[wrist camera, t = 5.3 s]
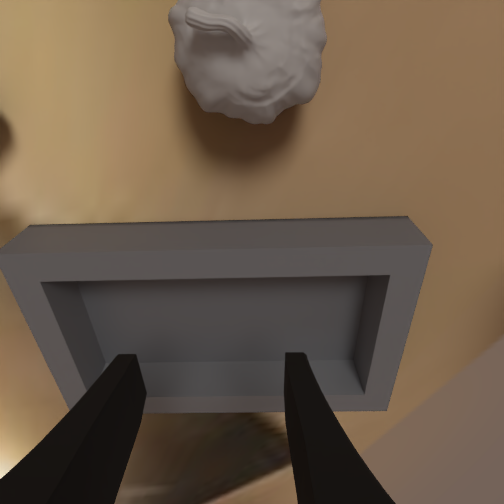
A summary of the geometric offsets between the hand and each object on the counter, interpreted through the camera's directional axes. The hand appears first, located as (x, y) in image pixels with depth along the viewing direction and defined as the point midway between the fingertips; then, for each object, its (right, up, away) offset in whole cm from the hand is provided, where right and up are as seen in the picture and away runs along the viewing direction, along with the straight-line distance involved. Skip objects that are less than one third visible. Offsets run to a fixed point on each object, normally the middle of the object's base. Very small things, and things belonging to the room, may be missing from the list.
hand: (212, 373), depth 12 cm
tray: (0, +1, +9) cm, 9 cm away
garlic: (+1, +13, +2) cm, 13 cm away
